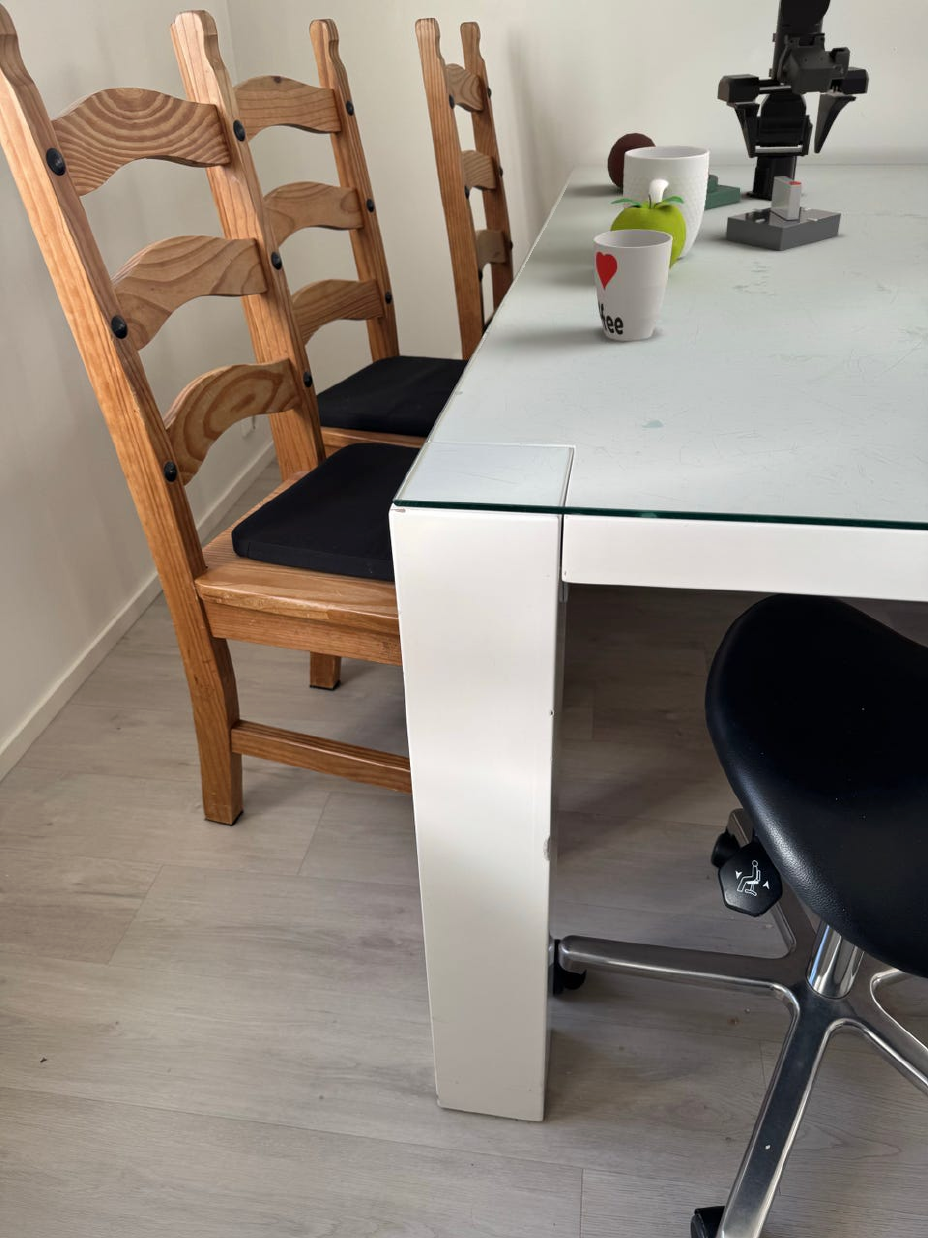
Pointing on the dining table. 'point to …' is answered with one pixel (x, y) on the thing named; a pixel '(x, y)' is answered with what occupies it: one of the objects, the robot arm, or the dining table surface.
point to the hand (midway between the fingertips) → (784, 155)
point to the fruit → (654, 221)
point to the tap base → (782, 228)
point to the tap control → (720, 194)
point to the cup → (631, 281)
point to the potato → (619, 151)
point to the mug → (669, 181)
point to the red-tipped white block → (786, 197)
